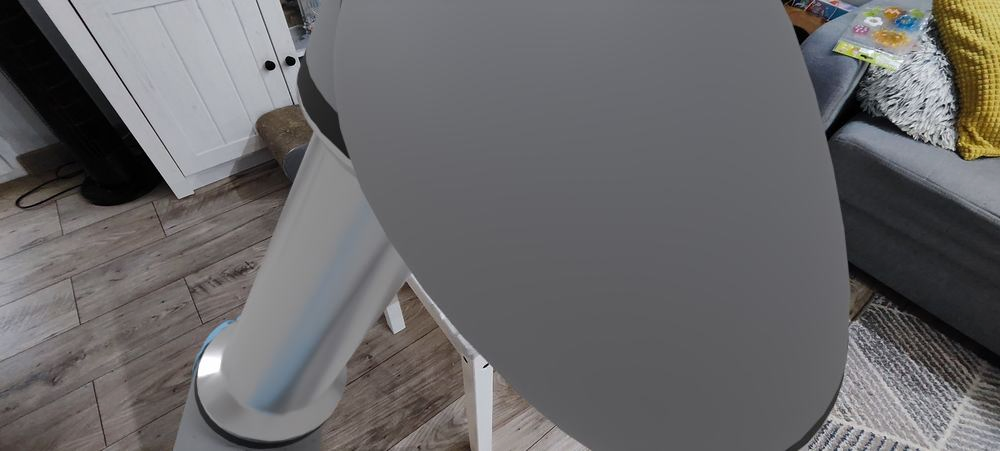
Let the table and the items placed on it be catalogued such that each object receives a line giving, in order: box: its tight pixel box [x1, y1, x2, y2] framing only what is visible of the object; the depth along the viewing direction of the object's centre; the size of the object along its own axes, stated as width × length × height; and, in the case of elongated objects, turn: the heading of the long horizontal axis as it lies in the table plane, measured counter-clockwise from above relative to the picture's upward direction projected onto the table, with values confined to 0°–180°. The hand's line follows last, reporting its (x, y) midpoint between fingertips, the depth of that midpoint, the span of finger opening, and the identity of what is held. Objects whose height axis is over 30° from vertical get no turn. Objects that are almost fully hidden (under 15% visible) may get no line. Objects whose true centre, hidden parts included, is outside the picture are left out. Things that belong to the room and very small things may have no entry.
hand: (485, 224), depth 69 cm, fingers open, 13 cm apart
